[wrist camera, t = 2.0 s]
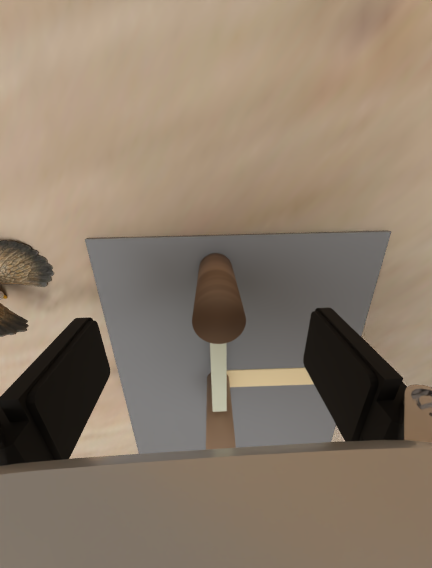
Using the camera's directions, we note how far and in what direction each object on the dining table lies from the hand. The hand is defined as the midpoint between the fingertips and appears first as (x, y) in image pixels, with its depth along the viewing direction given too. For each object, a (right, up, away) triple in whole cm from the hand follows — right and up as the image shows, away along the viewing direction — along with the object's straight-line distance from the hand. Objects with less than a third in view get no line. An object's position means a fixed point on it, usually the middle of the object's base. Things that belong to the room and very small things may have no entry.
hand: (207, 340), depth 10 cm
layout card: (+3, -8, +15) cm, 17 cm away
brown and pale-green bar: (0, -1, +11) cm, 11 cm away
